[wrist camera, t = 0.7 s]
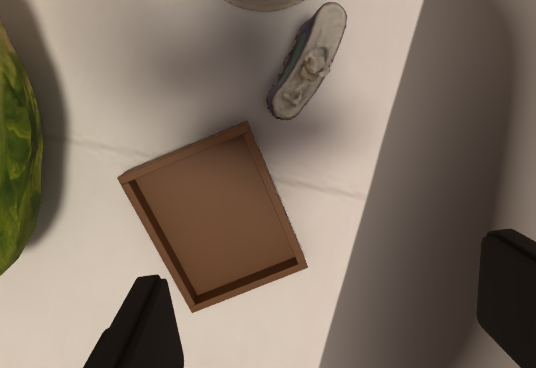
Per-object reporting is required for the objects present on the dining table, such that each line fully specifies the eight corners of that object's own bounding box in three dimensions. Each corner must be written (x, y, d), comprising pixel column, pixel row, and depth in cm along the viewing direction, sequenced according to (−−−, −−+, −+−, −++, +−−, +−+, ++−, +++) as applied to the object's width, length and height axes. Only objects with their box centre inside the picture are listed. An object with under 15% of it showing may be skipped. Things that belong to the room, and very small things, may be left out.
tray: (124, 171, 36) (116, 177, 34) (247, 120, 35) (247, 123, 33) (195, 300, 40) (191, 313, 38) (304, 257, 40) (307, 267, 37)
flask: (305, 17, 33) (332, -13, 23) (331, 33, 33) (370, 10, 23) (260, 106, 35) (266, 115, 25) (285, 119, 35) (302, 134, 25)
